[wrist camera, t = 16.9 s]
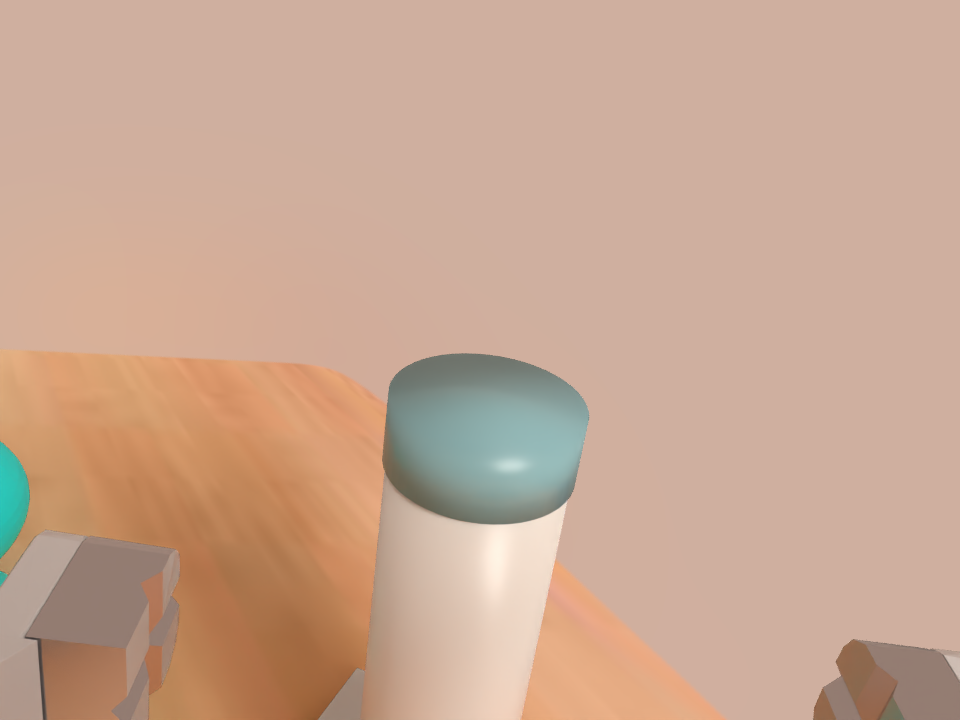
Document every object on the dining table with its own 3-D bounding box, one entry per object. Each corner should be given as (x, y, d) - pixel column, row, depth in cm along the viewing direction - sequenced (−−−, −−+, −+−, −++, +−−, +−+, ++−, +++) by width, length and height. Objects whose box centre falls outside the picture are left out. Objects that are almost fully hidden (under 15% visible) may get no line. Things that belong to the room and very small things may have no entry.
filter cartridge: (315, 877, 30) (350, 411, 22) (389, 760, 34) (441, 337, 26) (456, 952, 28) (551, 480, 20) (515, 819, 32) (612, 389, 24)
